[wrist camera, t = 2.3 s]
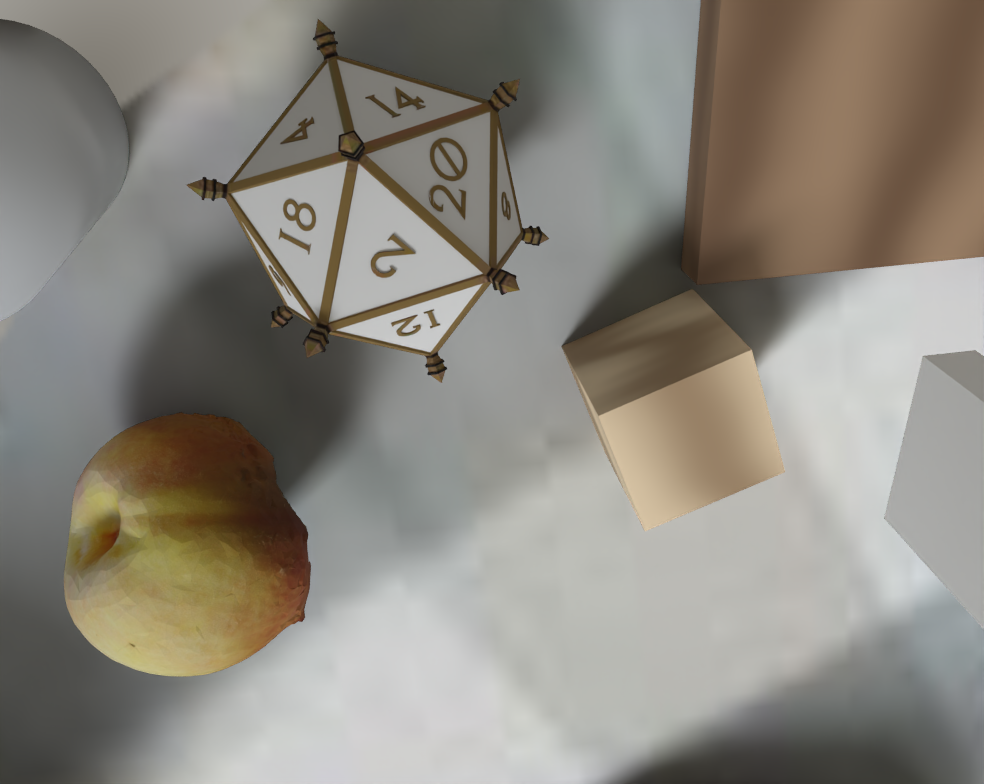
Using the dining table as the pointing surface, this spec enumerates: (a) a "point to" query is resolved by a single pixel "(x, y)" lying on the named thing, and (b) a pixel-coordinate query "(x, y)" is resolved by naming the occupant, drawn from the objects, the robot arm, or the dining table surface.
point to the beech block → (676, 407)
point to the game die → (380, 206)
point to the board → (834, 137)
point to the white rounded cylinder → (51, 157)
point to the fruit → (184, 548)
